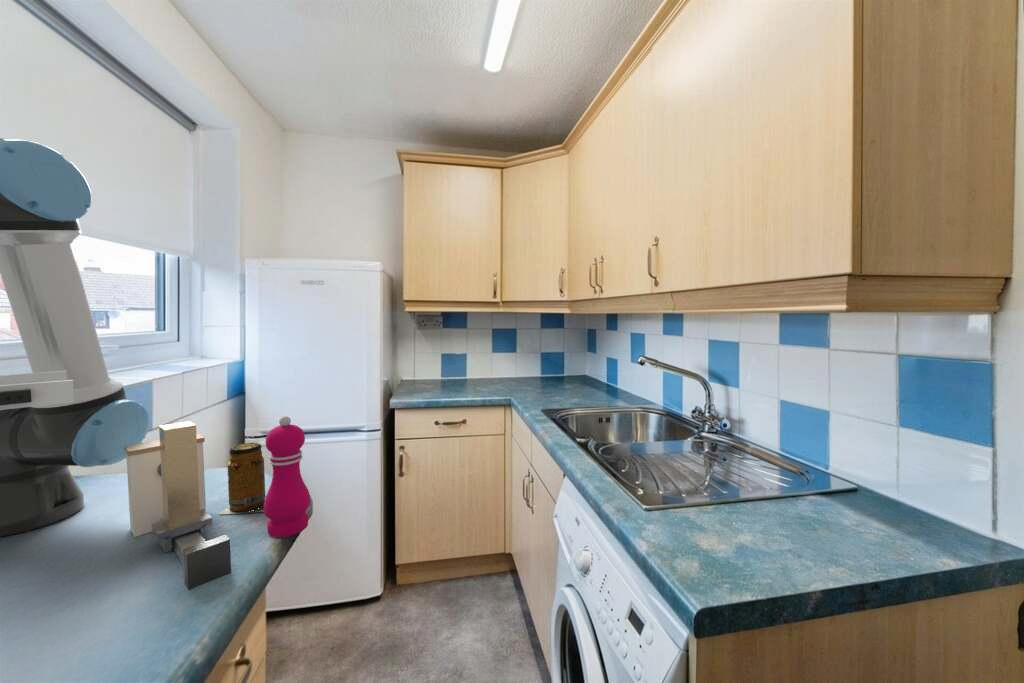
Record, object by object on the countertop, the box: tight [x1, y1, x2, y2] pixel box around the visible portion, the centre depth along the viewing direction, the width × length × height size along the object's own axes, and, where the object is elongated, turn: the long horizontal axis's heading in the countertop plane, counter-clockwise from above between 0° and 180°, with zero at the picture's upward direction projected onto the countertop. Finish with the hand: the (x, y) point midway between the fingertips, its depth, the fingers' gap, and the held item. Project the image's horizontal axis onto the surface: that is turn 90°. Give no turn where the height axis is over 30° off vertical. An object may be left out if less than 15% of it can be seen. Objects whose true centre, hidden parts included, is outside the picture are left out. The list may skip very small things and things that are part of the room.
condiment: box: [218, 442, 266, 515], centre depth 80 cm, size 7×8×12 cm
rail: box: [161, 517, 232, 591], centre depth 65 cm, size 24×5×5 cm, turn 50°
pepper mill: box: [263, 415, 311, 539], centre depth 71 cm, size 7×7×20 cm
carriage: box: [151, 420, 213, 553], centre depth 67 cm, size 5×7×19 cm
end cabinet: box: [124, 432, 207, 538], centre depth 74 cm, size 5×10×15 cm, turn 140°
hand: (70, 385), depth 55 cm, fingers open, 13 cm apart
